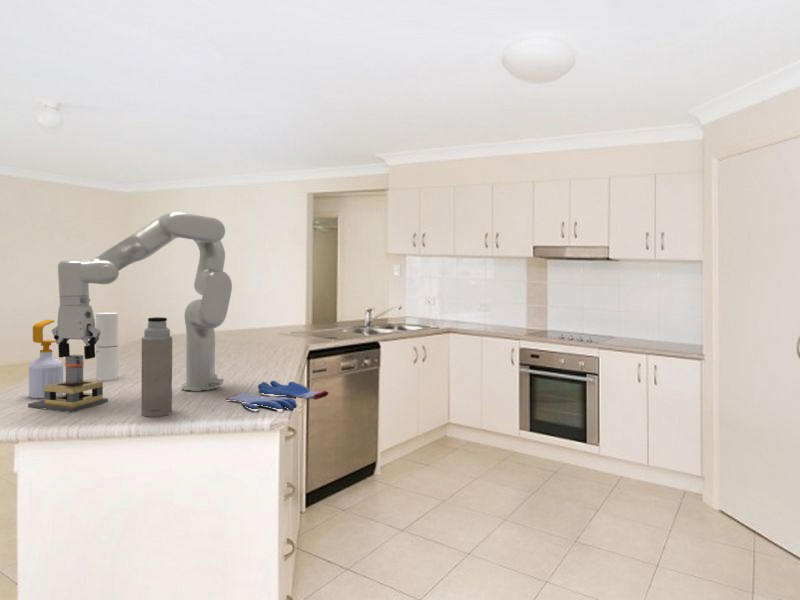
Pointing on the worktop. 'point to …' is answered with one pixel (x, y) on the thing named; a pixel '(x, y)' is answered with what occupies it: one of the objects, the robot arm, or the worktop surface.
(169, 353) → the thermos bottle
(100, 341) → the cylindrical container
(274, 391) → the pair of gloves
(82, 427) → the worktop surface
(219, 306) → the robot arm
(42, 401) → the tan frame fixture
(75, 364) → the tube
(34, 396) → the soap bottle
